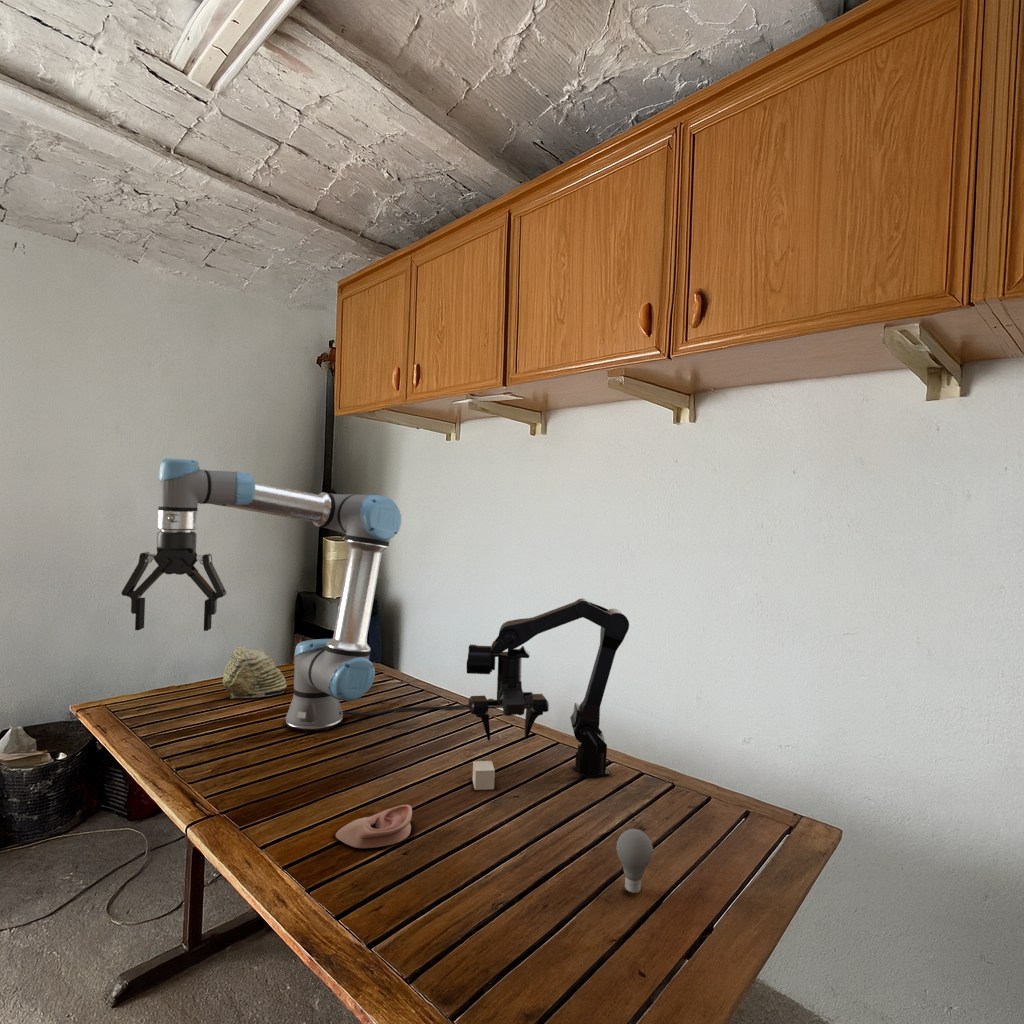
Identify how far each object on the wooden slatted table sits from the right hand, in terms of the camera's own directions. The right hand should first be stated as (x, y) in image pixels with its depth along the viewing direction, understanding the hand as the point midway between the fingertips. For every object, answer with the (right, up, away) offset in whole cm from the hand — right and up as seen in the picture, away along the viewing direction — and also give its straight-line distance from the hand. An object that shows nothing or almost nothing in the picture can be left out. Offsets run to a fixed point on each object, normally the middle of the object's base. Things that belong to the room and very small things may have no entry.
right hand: (507, 739), depth 153 cm
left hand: (-72, +29, -16) cm, 79 cm away
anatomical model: (-25, -6, -33) cm, 42 cm away
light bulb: (+21, -9, -47) cm, 52 cm away
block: (-5, -7, -10) cm, 13 cm away
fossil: (-80, -3, +45) cm, 92 cm away
